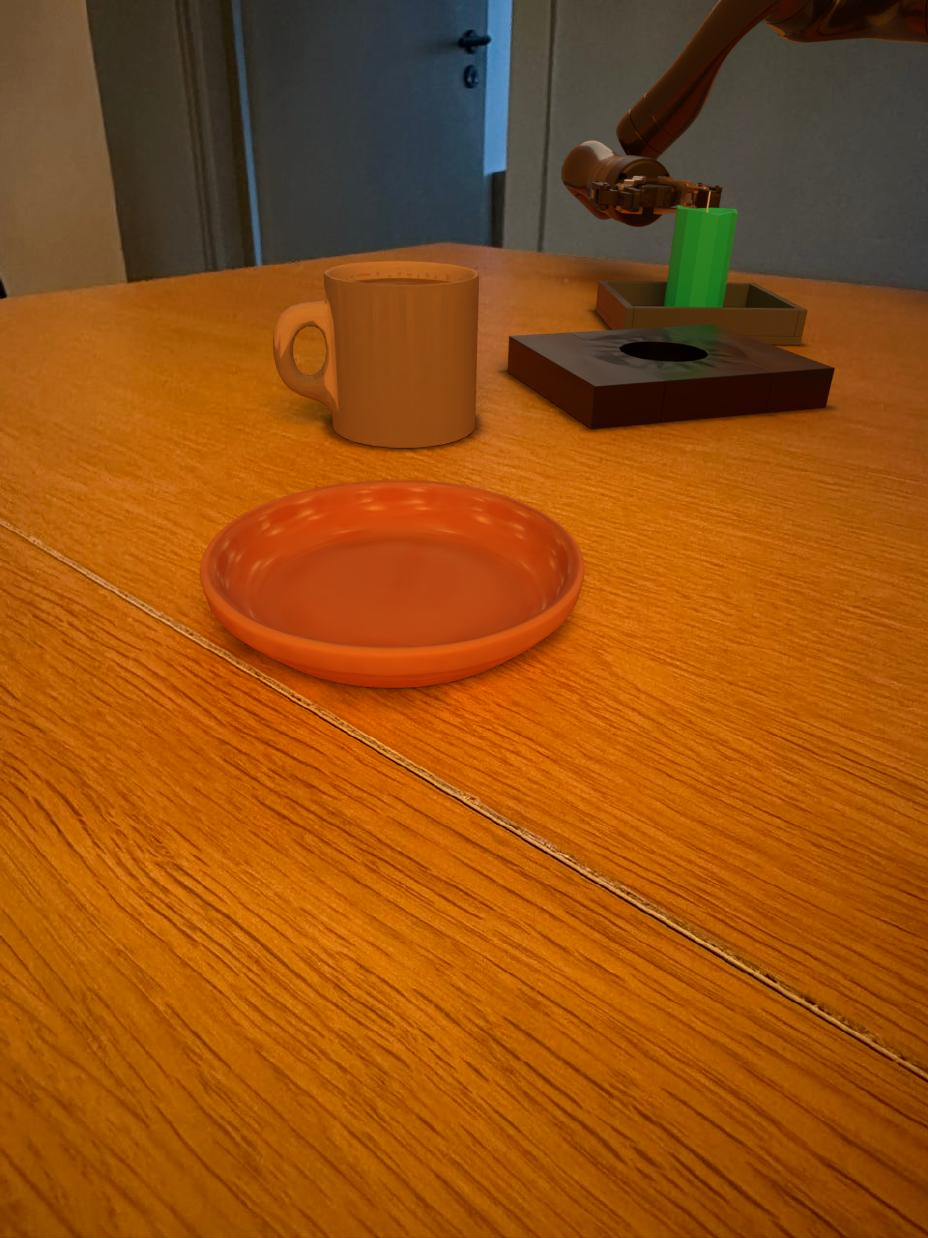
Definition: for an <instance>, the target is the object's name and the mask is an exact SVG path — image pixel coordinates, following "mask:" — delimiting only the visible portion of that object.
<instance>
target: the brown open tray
mask: <svg viewBox="0 0 928 1238" xmlns="http://www.w3.org/2000/svg"><path fill="white" fill-rule="evenodd" d="M666 286H667V280H607V279H606V280H603V279H599V280H598V281H597V290H596V291H597V292H596V301H595V302H596V303H595V312H596V314H597V316H599V317H600V318H601V319H602V321H603V322H604V323H605V324H606V325H607V327H608V328H609V330H622V329H640V328H658V327H677V326H695V325H712V324H716V325H718V326H721V327H724V328H727V329H729V330H732V331H735V332H738V333H740V334H743V335H746V336H749V337H751V338H754V339H757V340H759V341H762V342H765V343H768V344H770V345H773V346H800V345H801V344H802V337H803V333H804V329H805V324H806V319H807V315H808V310H807V309H806V308H804V307H802V306H800V305H798V304H796V303H795V302H793V301H790V300H789V299H787V298H784V297H783V296H781V295H779V294H777V293H775V292H773V291H771V290H770V289H767V288H766V287H764V286H761V285H759V284H758V283H756V282H738V281H737V282H736V281H735V282H733V281H732V282H730V281H727V284H726V290H725V296H724V302H723V307H664V301H665V294H666Z"/></svg>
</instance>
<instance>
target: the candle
mask: <svg viewBox="0 0 928 1238" xmlns="http://www.w3.org/2000/svg"><path fill="white" fill-rule="evenodd" d="M710 193H711V191H709V196H708V203H707V208H698V209H694V208H686V207H683V206H680V205H677V206H676V208H677V210H676V214H675V217H674V218H675V219H674V224H673V225H674V226H673V233H672V242H671V247H670V248H671V249H670V254H669V255H670V257H669V262H668V263H669V264H668V272H667V279H666V281H667V286H666V294H665V301H664V307H723V302H724V296H725V290H726V284H727V282H728V278H729V271H730V265H731V260H732V254H733V247H734V241H735V234H736V229H737V224H738V223H737V222H738V216H739V212H738V210H737V208H729V207H728V208H726V207H724V208H723V207H720V208H708V206H709V200H710Z"/></svg>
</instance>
